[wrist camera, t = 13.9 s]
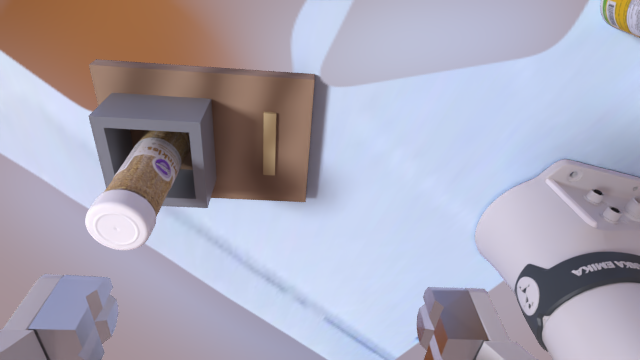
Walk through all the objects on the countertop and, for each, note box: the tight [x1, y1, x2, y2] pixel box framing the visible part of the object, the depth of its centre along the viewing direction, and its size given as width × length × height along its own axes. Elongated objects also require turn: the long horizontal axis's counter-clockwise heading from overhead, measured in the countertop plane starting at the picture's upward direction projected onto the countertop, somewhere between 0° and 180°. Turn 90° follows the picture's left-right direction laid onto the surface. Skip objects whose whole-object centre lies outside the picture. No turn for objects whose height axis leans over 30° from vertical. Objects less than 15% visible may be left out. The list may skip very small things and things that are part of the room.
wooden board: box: [89, 59, 315, 202], centre depth 42 cm, size 20×14×2 cm
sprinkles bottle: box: [85, 130, 190, 250], centre depth 36 cm, size 5×4×13 cm
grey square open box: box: [89, 93, 217, 208], centre depth 39 cm, size 9×9×5 cm
